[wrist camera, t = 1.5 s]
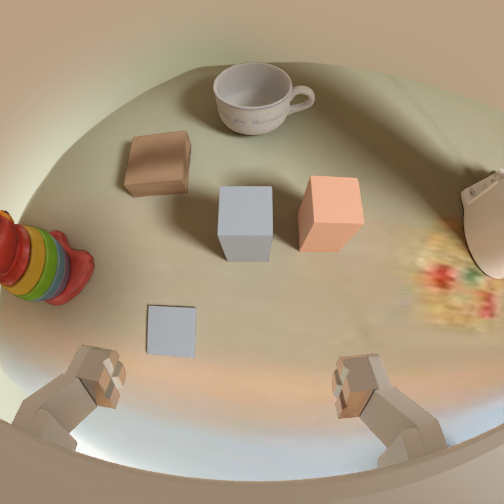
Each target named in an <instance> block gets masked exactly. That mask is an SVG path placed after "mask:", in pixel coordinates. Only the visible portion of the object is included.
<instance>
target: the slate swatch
mask: <svg viewBox="0 0 504 504" xmlns="http://www.w3.org/2000/svg"><path fill="white" fill-rule="evenodd" d="M195 336H196V308H186V307H163V306H149V310H148V339H147V354H154V355H165V356H177V357H192V358H195Z"/></svg>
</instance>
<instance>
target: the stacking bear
mask: <svg viewBox="0 0 504 504" xmlns="http://www.w3.org/2000/svg"><path fill="white" fill-rule="evenodd" d="M93 261H94V260H93V257H92V256H91V255H90V254H89V252H87V251H76V250H73V249H72V248H71V247H70V246H69V245H68V242H67V239H66V236H65V234H64V233H62V232H60V231H57V230H56V231H53V232H51V233H48V232H46V231H45V230H42V229H40V228H36V227H31V226H26V225H19V224H14V221H13V219H12V218H11V216H10V215H9V213H8V212H7V211H3V210H0V285H1V286H2V287H3V288H5V289H6V290H7V291H9V292H11V293H12V294H14V295H15V296H17V297H19V298H21V299H24V300H28V301H43V300H44V301H46V302H47V303H49V304H52V305H62V304H64V303H66V302H68V301H70V300H71V299H72V298H74V297H75V296H76V295H77V294H78V293H79V292H80V291H81V290H82V289H83V287H84V286H85V285H86V283H87V282H88V280H89V278H90V276H91V274H92V272H93V269H94V263H93Z"/></svg>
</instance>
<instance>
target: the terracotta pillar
mask: <svg viewBox="0 0 504 504" xmlns="http://www.w3.org/2000/svg"><path fill="white" fill-rule="evenodd" d="M363 225H364V218H363V210H362V203H361V196H360V189H359V183H358V178H347V177H329V176H310V179H309V182H308V185H307V188H306V191H305V194H304V197H303V200H302V203H301V206H300V209H299V212H298V229H299V252H338V251H339V250H340V249H341V248H342V247H343V246H344V245H345V244H346V243H347V242H348V241H349V240H350V239H351V237H352V236H353V235H354V234H355V233H356V232H357V231H358V230H359V229H360V228H361V227H362V226H363Z"/></svg>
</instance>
